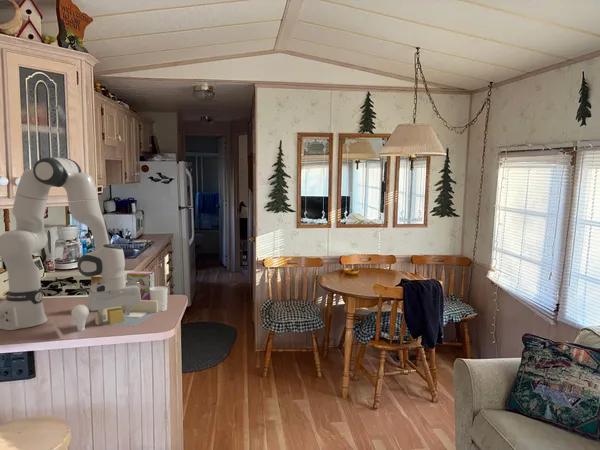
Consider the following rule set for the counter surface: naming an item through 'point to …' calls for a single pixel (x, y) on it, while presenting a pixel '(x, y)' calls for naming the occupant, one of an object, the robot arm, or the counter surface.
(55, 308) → the counter surface
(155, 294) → the white cup
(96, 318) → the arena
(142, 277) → the candy bar box
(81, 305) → the lightbulb
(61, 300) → the counter surface
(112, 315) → the cube
